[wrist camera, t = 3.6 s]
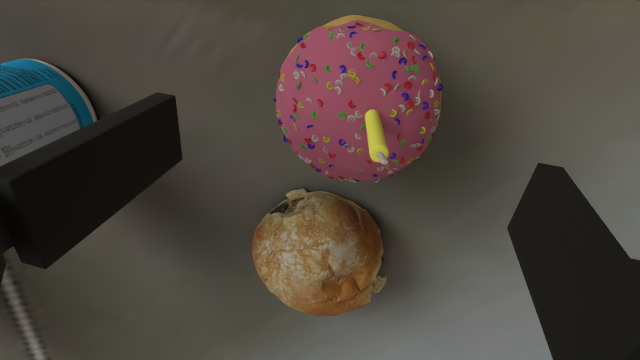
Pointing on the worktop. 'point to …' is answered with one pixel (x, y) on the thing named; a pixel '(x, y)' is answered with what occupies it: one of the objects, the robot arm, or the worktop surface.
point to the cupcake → (359, 98)
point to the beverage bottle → (38, 107)
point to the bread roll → (319, 253)
